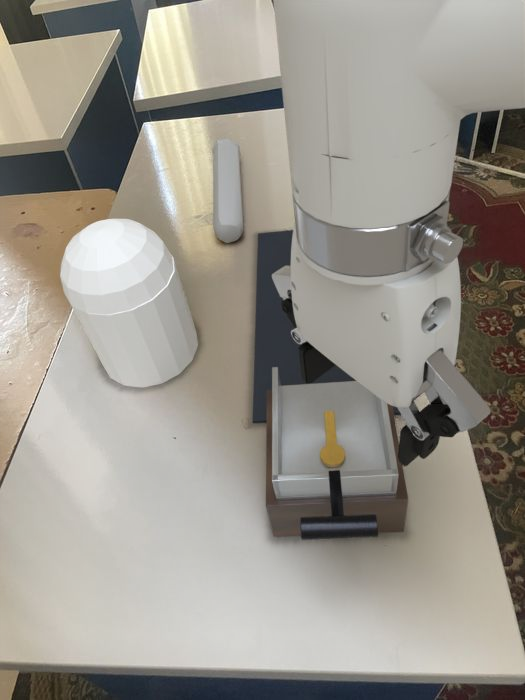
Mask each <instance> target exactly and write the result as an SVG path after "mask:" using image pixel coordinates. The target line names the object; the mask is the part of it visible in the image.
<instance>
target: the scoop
mask: <svg viewBox="0 0 525 700" xmlns="http://www.w3.org/2000/svg"><path fill="white" fill-rule="evenodd" d="M324 411H334V415H335V427H336V439H337V444H338V445H340V446H341V447H342V448H343V449H344V451H345V460H344V462H343V463H342V464H341V465H340V466H338V467H334V468H332V467H328V466H326V465H324V464H323V463H322V461H321V459H320V451H321V449H322V448H323V447H324V446H325V445H327V444H326V430H325V416H324ZM398 476H399V474H398V468H397V461H396V455H395V449H394V443H393V437H392V431H391V424H390V418H389V412H388V406H387V403H386V402H384V401H383V400H381V399H380V398H379V397H377V396H376V395H374V394H373V393H372V392H370V391H369V390H368V389H367V388H365V387H364V386H363V385H361V384H360V383H359V382H357V381H347V382H332V383H317V384H301V385H286V386H281V383H280V377H279V371H278V367H273V368H272V483H273V487H274V492H275V496H276V500H295V499H318V498H330V501H331V515H332V516H311V517H301V518H300V527H301V536H300V537H301V539H300V540H301V541H322V540H323V541H325V540H345V539H346V540H350V539H353V540H354V539H377V538H378V537H379V533H378V525H377V517H376V514H359V515H344V510H343V498H342V497H362V496H385V495H396V493H397V485H398Z"/></svg>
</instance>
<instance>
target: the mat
mask: <svg viewBox="0 0 525 700" xmlns="http://www.w3.org/2000/svg"><path fill="white" fill-rule="evenodd" d="M292 236H293V229H291V230H281V231H269V232H259V233H257V257H256V260H257V261H256V288H255V289H256V290H255V291H256V292H255V325H254V326H255V327H254V359H253V360H254V362H253V369H254V370H253V396H252V397H253V399H252V402H253V403H252V423H253V424H260V423H267V390H272V368H273V367H278V371H279V377H280V383H281V386H286V385H301V384H307V383H306V382H304V381H303V380H302V377H301V369H300V360H299V352H298V347H300V346H301V344H298V343H297V342H296V341H295V340H294V339H293V337H292V335H291V331H292V330H293V329H294V326H293V324H292V323H291V321H290V320H289V318H288V316H287V315H286V313H284V311H283V310H282V305H281V302H282V301H283V297H280V295H279V293H278V290H277V288H276V286H275V284H274V281H273V279H272V274H273V273H275V272H276V271H278V270H279V269H281V268H282V267H284V266H291V246H292ZM347 381H356V380H355V379H354V378H352V377H351V376H350V375H348V374H347V373H346V372H345V371H343V370H342V369H341V368H340V367H338V366H337V365H335V366H334V367H332V368H331V369H330V370H328V371H327V372H326V373H324V374H323V375H322V376H320V377H319V378H318V379H316V380H315V381H314V382H312V383H311V384H317V383H332V382H347ZM308 384H310V383H308ZM393 412H394V416H397V415H401V413H400V411H399V410H398V408H397V407H395V406H393Z"/></svg>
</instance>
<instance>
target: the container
mask: <svg viewBox="0 0 525 700" xmlns="http://www.w3.org/2000/svg"><path fill="white" fill-rule="evenodd" d="M59 275H60V276H59V277H60V281H61V286H62V290H63V295H65V297H66V300H67V301H68V302H69V304H70V307H71V308H72V310H73V312H74V313H75V316H76V318H77V319H78V321H79V323H80V325H81V327H82V329H83V331H84V333H85V334H86V337H87V338H88V341H89V342H90V344H91V346H92V348H93V350H94V352H95V353H96V356H97V357H98V359H99V361H100V363H101V366H102V367H103V369H104V370H105V372H106V373H107V375H108V377H109V379H111V380H112V381H114V382H116V383H118V384H120V385H122V386H123V387H131V388H141V389H144V388H148V387H153V386H157V385H162V384H164V383H166V382H168V381H170V380H172V379H173V378H175V377H177V376H179V375H180V374H181V373H182V372H184V371H185V369H186V368H187V367H188V366H189V365H190V364H191V363H192V362H193V361H194V358H195V355H196V353H197V350H198V348H199V341H198V333H197V330H196V326H195V323H194V319H193V317H192V313H191V311H190V307H189V303H188V300H187V297H186V294H185V291H184V287H183V283H182V281H181V277H180V275H179V271H178V269H177V265H176V261H175V258H174V256H173V255H172V254H171V253H170V250H169V249H168V247H167V245H166V243H165V242H164V241H163V240H162V238H161V237H160V236H159V235H158V234H157V233H156V232H155V231H154V230H152V229H150V228H149V227H147V226H146V225H144V224H142V223H140V222H138V221H135V220H132V219H130V218H108V219H107V218H106V219H102V220H98V221H97V220H96V221H94V222H93V223H90V224H89V225H87V226H86V227H84V228H82V229H81V230H80V231H79V232H77V233H76V234H75V235H74V236H72V238H71V239H70V241H69V242H68V244H67V245H66V247H65V250H64V253H63V256H62V259H61V264H60V273H59Z"/></svg>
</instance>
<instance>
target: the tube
mask: <svg viewBox="0 0 525 700" xmlns="http://www.w3.org/2000/svg"><path fill="white" fill-rule="evenodd" d="M240 148H241V147H240V143H239V142H236V141H235V140H233V139H231V138H223V139H222V138H221V139H217V140H216V141H215V143H214V145H213V146H212V148H211V152H212V179H213V180H212V193H213V194H212V228H213V233H214V237H215V238H217V239H218V240H220V241H222V242H223V243H225V244H230V243H233V242H236V241H238V240H239V239H240V238H241V236H242V235H243V233H244V232H245V231H244V230H245V229H244V213H243V212H244V211H243V195H242V193H243V192H242V177H241V160H240V158H241V156H242V155H241V149H240Z"/></svg>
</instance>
